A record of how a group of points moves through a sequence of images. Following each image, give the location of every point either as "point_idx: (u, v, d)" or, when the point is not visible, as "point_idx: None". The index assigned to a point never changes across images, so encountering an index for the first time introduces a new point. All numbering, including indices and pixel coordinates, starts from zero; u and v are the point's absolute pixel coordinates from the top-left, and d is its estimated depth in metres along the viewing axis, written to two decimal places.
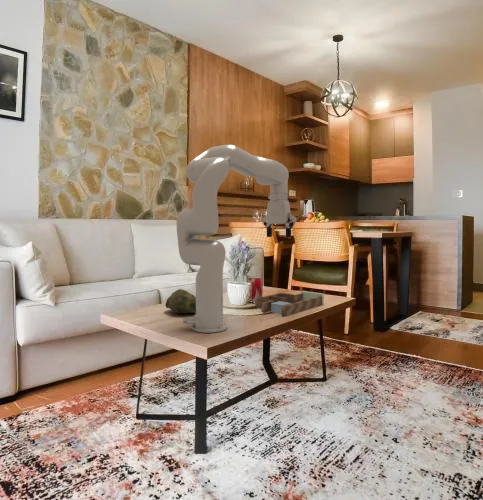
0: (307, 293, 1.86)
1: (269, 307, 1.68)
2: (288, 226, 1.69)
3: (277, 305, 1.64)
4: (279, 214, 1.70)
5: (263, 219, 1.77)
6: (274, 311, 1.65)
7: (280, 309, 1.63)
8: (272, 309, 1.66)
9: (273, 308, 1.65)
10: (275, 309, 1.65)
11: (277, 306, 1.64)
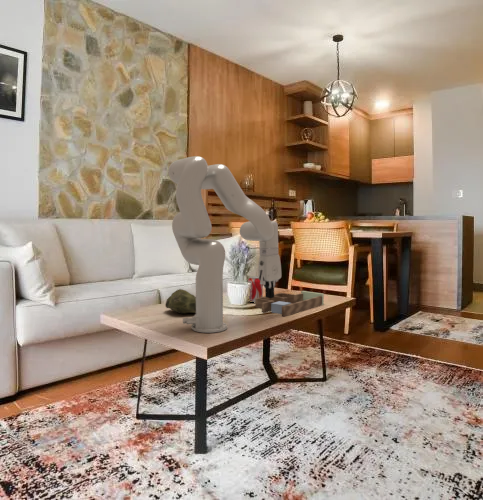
0: (307, 293, 1.86)
1: (269, 307, 1.68)
2: (274, 285, 1.60)
3: (277, 305, 1.64)
4: (277, 270, 1.59)
5: (264, 282, 1.56)
6: (274, 311, 1.65)
7: (280, 309, 1.63)
8: (272, 309, 1.66)
9: (273, 308, 1.65)
10: (275, 309, 1.65)
11: (277, 306, 1.64)
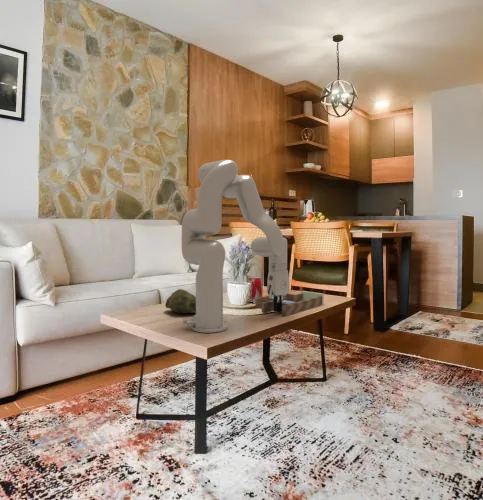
0: (307, 293, 1.86)
1: (269, 307, 1.68)
2: (282, 300, 1.64)
3: (282, 304, 1.66)
4: (286, 284, 1.64)
5: (272, 296, 1.60)
6: None
7: None
8: None
9: None
10: None
11: (282, 305, 1.66)
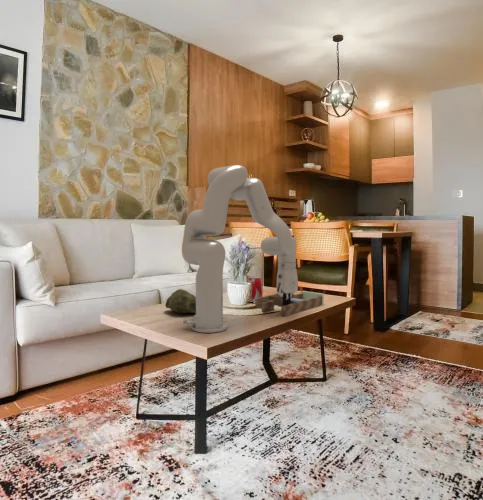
0: (307, 293, 1.86)
1: (269, 307, 1.68)
2: (290, 297, 1.69)
3: None
4: (294, 283, 1.68)
5: (281, 294, 1.65)
6: None
7: None
8: None
9: None
10: None
11: None
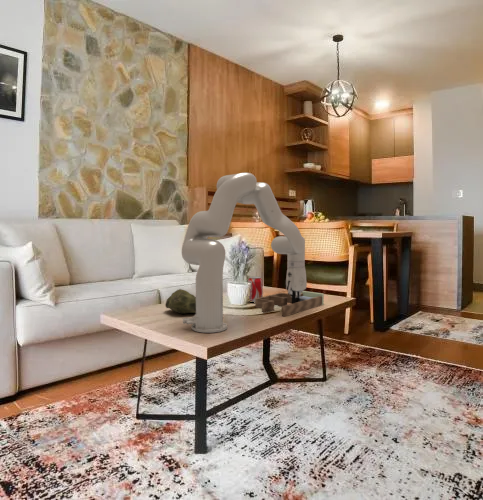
0: (307, 293, 1.86)
1: (269, 307, 1.68)
2: (299, 295, 1.75)
3: (300, 299, 1.75)
4: (303, 281, 1.74)
5: (291, 292, 1.71)
6: None
7: None
8: None
9: None
10: None
11: (300, 300, 1.75)
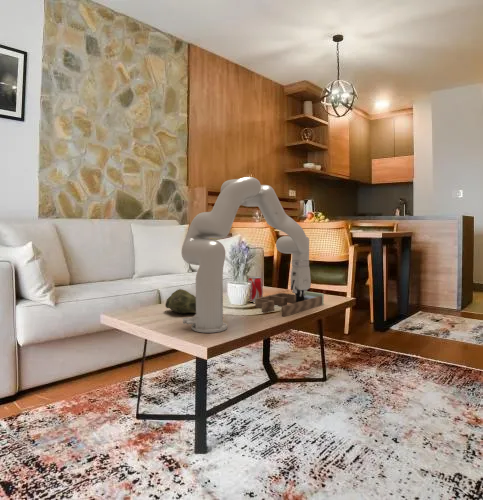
0: (307, 293, 1.86)
1: (269, 307, 1.68)
2: (304, 294, 1.77)
3: (304, 299, 1.78)
4: (308, 280, 1.76)
5: (295, 291, 1.73)
6: None
7: None
8: None
9: None
10: None
11: None
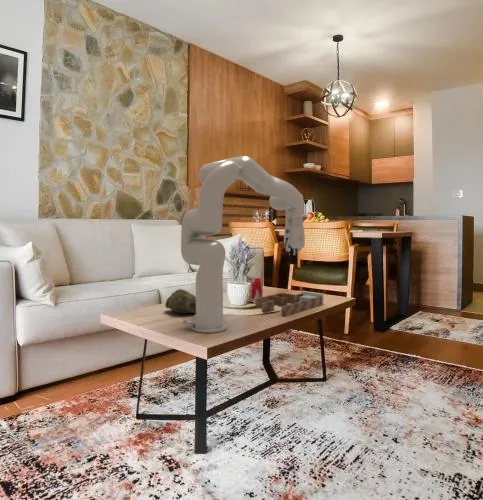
0: (307, 293, 1.86)
1: (269, 307, 1.68)
2: (297, 253, 1.73)
3: (305, 298, 1.78)
4: (301, 238, 1.72)
5: (289, 249, 1.69)
6: None
7: None
8: None
9: None
10: None
11: None
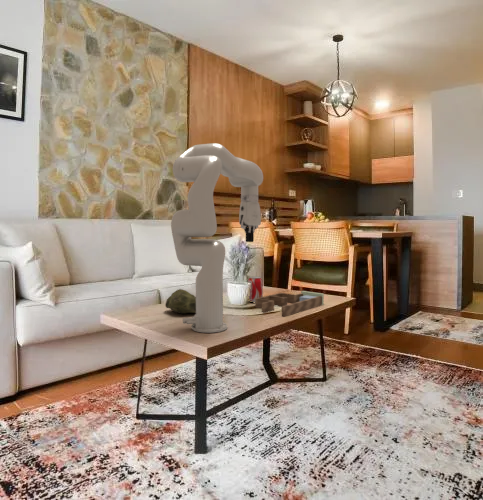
0: (307, 293, 1.86)
1: (269, 307, 1.68)
2: (253, 231, 1.74)
3: (305, 298, 1.78)
4: (257, 216, 1.73)
5: (244, 226, 1.70)
6: None
7: None
8: None
9: None
10: None
11: None
